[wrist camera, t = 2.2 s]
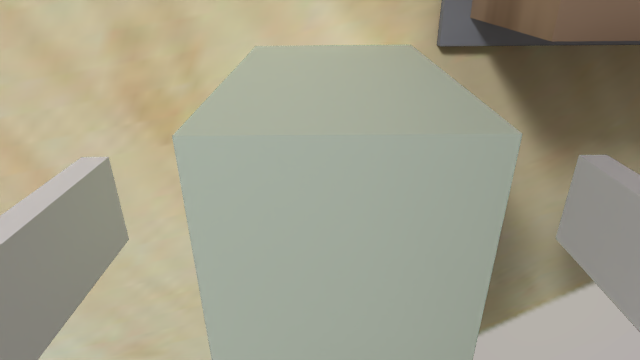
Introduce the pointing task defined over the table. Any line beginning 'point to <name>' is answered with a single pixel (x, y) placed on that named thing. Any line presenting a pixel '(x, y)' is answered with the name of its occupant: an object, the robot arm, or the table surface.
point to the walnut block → (564, 18)
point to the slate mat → (490, 31)
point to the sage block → (344, 205)
